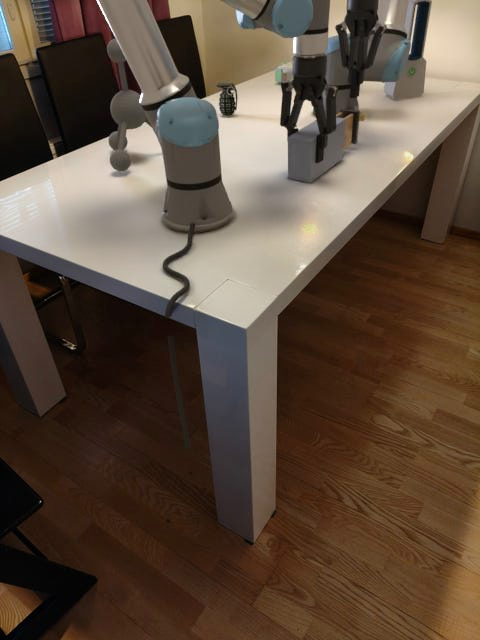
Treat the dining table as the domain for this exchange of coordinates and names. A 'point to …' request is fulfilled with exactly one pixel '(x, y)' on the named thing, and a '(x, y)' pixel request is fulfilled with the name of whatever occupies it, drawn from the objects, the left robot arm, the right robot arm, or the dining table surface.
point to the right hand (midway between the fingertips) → (354, 96)
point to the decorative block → (284, 72)
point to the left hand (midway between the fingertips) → (306, 158)
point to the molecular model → (123, 112)
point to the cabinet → (314, 151)
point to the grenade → (227, 99)
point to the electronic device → (413, 54)
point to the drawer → (351, 125)
